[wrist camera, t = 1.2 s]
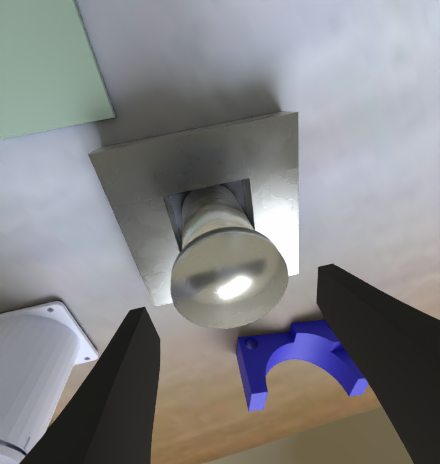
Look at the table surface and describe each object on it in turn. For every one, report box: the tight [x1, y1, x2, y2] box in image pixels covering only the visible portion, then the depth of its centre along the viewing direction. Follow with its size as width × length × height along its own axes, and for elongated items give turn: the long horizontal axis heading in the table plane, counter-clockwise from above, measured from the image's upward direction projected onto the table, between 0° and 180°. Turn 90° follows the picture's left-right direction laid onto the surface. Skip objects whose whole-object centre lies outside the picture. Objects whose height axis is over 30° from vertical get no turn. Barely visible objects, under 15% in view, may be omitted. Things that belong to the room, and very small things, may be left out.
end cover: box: [170, 185, 289, 329], centre depth 14 cm, size 5×5×9 cm
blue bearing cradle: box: [236, 320, 369, 411], centre depth 25 cm, size 12×4×6 cm, turn 88°
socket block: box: [88, 111, 299, 307], centre depth 17 cm, size 12×12×2 cm
